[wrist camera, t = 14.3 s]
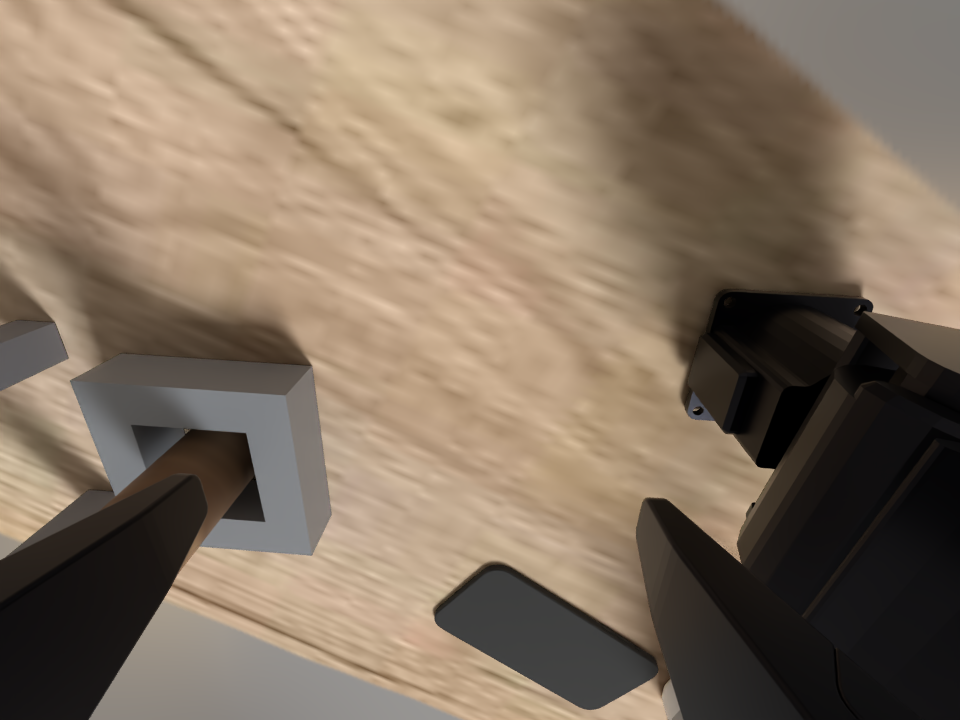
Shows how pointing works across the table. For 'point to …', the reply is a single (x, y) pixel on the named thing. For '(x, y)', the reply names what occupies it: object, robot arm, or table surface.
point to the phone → (544, 638)
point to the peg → (203, 472)
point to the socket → (218, 407)
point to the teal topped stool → (17, 357)
